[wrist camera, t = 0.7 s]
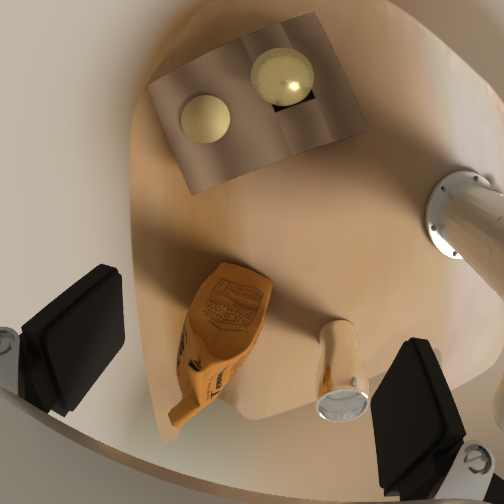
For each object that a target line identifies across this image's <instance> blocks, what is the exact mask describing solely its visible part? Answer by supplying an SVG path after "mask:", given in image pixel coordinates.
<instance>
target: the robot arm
mask: <svg viewBox="0 0 504 504" xmlns="http://www.w3.org/2000/svg"><path fill="white" fill-rule="evenodd" d="M473 177H474V179H473ZM441 187H443V188H442V189H441ZM432 225H433V227H432V228H431V226H432ZM426 227H427V232H428V235H429V237H430V239H431V241H432V243H433V244H434V245H435V247H436V248H437V249H438V250H439V251H440V252H441V253H443V254H444V255H446V256H448V257H451V258H454V259H464V260H465V261H466V262H467V263H468V264H469V265H470V266H471V267H472V268H473V269H474V270H475V271H476V272H477V273H478V274H479V275H480V276H481V277H482V278H483V279H484V280H485V282H486V283H487V284H488V285H489V286H490V287H491V288H492V289H493V290H494V291H495V292H496V293H497V294H498V295H499V296H500V298H501V299H502V300H503V301H504V195H502V194H500V193H498V192H496V191H494V188H493V187H492V185H491V184H490V183H489V181H487V180H486V179H485V178H484V177H483V176H481V175H479V174H478V173H475V172H472V171H466V170H464V171H456V172H453V173H451V174H449V175H447V176H445V177H444V178H443V179H442V180H441V181H440V182H439V183H438V184H437V185H436V187H435V188H434V189H433V191H432V193H431V195H430V197H429V200H428V203H427V208H426ZM453 251H454V252H453ZM21 328H22V333H21V334H20V335H18V333H17V332H16V331H15V330H13V329H11V328H8V327H0V504H504V480H503V479H501V478H500V477H499V476H497V475H496V474H494V473H493V472H494V469H495V458H494V455H493V453H492V451H491V450H490V449H489V447H488V446H487V445H485V444H484V443H482V442H480V441H476V440H470V441H467V442H465V443H464V441H463V437H464V436H465V435H466V432H465V429H464V426H463V423H462V421H461V418H460V415H459V413H458V410H457V407H456V404H455V402H454V399H453V397H452V394H451V392H450V389H449V387H448V384H447V382H446V379H445V377H444V375H443V372H442V370H441V368H440V365H439V363H438V361H437V359H436V356H435V354H434V352H433V350H432V347H431V345H430V343H429V341H428V340H426V339H420V338H414V337H412V338H410V339H409V340H408V341H405V342H404V343H403V344H402V346H401V348H400V350H399V352H398V354H397V356H396V357H395V359H394V361H393V363H392V365H391V366H390V368H389V370H388V372H387V373H386V375H385V377H384V378H383V380H382V382H381V383H380V385H379V387H378V389H377V390H376V392H375V393H374V395H373V397H372V399H371V405H370V406H371V413H372V421H373V428H374V436H375V444H376V454H377V463H378V473H379V484H380V487H381V488H384V496H399V495H400V501H399V502H337V501H321V500H310V499H300V498H292V497H284V496H277V495H271V494H264V493H258V492H253V491H248V490H243V489H238V488H233V487H229V486H225V485H221V484H216V483H213V482H209V481H205V480H202V479H198V478H195V477H191V476H188V475H184V474H181V473H178V472H175V471H172V470H169V469H166V468H163V467H160V466H157V465H155V464H152V463H149V462H147V461H144V460H141V459H139V458H136V457H134V456H131V455H129V454H126V453H124V452H122V451H119V450H117V449H115V448H113V447H110V446H108V445H106V444H104V443H102V442H100V441H97V440H95V439H93V438H91V437H89V436H87V435H85V434H83V433H81V432H79V431H78V430H76V429H74V428H72V427H70V426H68V425H66V424H64V423H62V422H61V421H59V420H57V419H55V418H53V417H52V416H50V415H48V412H49V411H50V410H53V411H54V412H56V413H58V414H60V415H61V416H63V417H65V416H66V414H67V413H68V412H69V411H73V410H75V408H76V407H77V406H78V404H79V403H80V402H81V400H82V399H83V398H84V396H85V395H86V394H87V392H88V391H89V390H90V388H91V387H92V385H93V384H94V383H95V382H96V380H97V379H98V377H99V376H100V375H101V374H102V372H103V371H104V370H105V368H106V367H107V366H108V364H109V363H110V362H111V361H112V359H113V358H114V357H115V355H116V354H117V353H118V351H119V350H120V349H121V348H122V346H123V344H124V341H125V330H124V315H123V297H122V276H121V274H119V273H118V270H117V269H116V268H114V267H111V266H108V265H104V264H100V265H98V266H97V267H95V268H94V269H93V270H91V271H90V272H89V273H88V274H86V275H85V276H84V277H82V278H81V279H80V280H78V281H77V282H76V283H74V284H73V285H72V286H71V287H69V288H68V289H67V290H66V291H64V292H63V293H62V294H61V295H59V296H58V297H57V298H56V299H54V300H53V301H52V302H51V303H49V304H48V305H47V306H46V307H44V308H43V309H42V310H41V311H40V312H38V313H37V314H36V315H35V316H34V317H32V319H30V320H29V321H28V322H27V323H25V324H24V325H23V326H22V327H21ZM492 412H493V416H494V419H495V421H496V423H497V425H498V427H499V428H500V430H501V431H502V432H503V434H504V373H503V375H502V377H501V379H500V380H499V382H498V385H497V387H496V389H495V391H494V394H493V399H492Z"/></svg>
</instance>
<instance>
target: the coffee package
mask: <svg viewBox="0 0 504 504" xmlns="http://www.w3.org/2000/svg"><path fill="white" fill-rule="evenodd" d="M271 292H272V282H271V280H270V279H268V278H266V277H264V276H262V275H260V274H258V273H256V272H254V271H252V270H250V269H247V268H243V267H241V266H239V265H235V264H230V263H226V262H222V263H220V264H219V266H218V267H217V269H216V270H215V271H214V272H213V273H212V274H211V275H210V276H209V277H208V278H207V279H206V280H205V281H204V282H203V283H202V285H201V286H200V288H199V290H198V291H197V293H196V295H195V297H194V299H193V301H192V303H191V305H190V307H189V309H188V312H187V315H186V318H185V321H184V325H183V329H182V332H181V336H180V344H179V348H178V354H177V367H176V371H177V377H178V382H179V386H180V388H181V391H182V393H183V395H182V400H181V401H180V402H179V403H178V404H177V405H176V406H175V407H174V408H172V409H171V410H170V412H169V413H168V416H169V419H170V421H171V424H172V426H174V427H177V428H179V427H181V426H182V425H183V424H184V423H185V422H186V421H187V420H188V419H190V418H191V417H193V416H194V415H195V414H197V413H198V412H199V411H200V410H201V409H203V408H204V407H205V406H206V405H208V404H209V403H211V402H212V401H213V400H214V399H215V398H216V397H217V396H218V394H219V393H220V392H221V390H222V388H223V387H224V386H225V384H226V383H227V382H228V381H229V380H230V379H231V377H232V376H233V375H234V374H235V373H236V371H237V370H238V369H239V368H240V367H241V365H242V364H243V363H244V361H245V360H246V359H247V357H248V355H249V354H250V352H251V350H252V349H253V347H254V345H255V344H256V342H257V339H258V337H259V335H260V332H261V329H262V326H263V323H264V319H265V316H266V312H267V308H268V305H269V301H270V297H271Z"/></svg>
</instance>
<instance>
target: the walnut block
mask: <svg viewBox="0 0 504 504" xmlns="http://www.w3.org/2000/svg"><path fill="white" fill-rule="evenodd" d="M274 48H290V49H293V50H296V51H298V52H300V53H301V54H302V55H304V56H305V57H306V58H307V59H308V61H309V62H310V64H311V66H312V68H313V72H314V82H313V86H312V89H311V91H310V93H309V94H308V95H307V96H306V97H305V98H304V99H303V100H302V101H300V102H298V103H296V104H293V105H289V106H278V105H274V104H271V103H269V102H267V101H265V100H264V99H262V98H261V97H260V96H259V95H258V94H257V93H256V91H255V90H254V88H253V85H252V82H251V70H252V67H253V64H254V63H255V61H256V60H257V58H258V57H259V56H260V55H262V54H263V53H264V52H266V51H268V50H271V49H274ZM146 88H147V90H148V93H149V95H150V98H151V100H152V103H153V105H154V107H155V110H156V112H157V115H158V117H159V120H160V122H161V125H162V127H163V129H164V132H165V134H166V137H167V139H168V141H169V144H170V146H171V149H172V151H173V153H174V156H175V158H176V160H177V163H178V165H179V167H180V170H181V172H182V174H183V177H184V179H185V181H186V184H187V186H188V188H189V191H190V193H191V195H195V194H197V193H199V192H202V191H204V190H206V189H209V188H211V187H214V186H216V185H218V184H221V183H223V182H226V181H228V180H231V179H233V178H236V177H238V176H241V175H243V174H246V173H248V172H251V171H254V170H256V169H259V168H261V167H264V166H267V165H269V164H272V163H275V162H277V161H280V160H283V159H286V158H288V157H291V156H294V155H297V154H300V153H302V152H305V151H308V150H311V149H314V148H317V147H320V146H323V145H326V144H329V143H332V142H335V141H338V140H341V139H344V138H347V137H350V136H354V135H357V134H360V133H363V132H366V131H368V130H367V128H366V125H365V122H364V120H363V117H362V114H361V112H360V109H359V107H358V104H357V102H356V99H355V97H354V94H353V92H352V90H351V87H350V85H349V82H348V80H347V78H346V76H345V73H344V71H343V69H342V67H341V65H340V62H339V60H338V58H337V56H336V54H335V52H334V50H333V48H332V46H331V44H330V42H329V40H328V38H327V36H326V34H325V32H324V30H323V28H322V26H321V24H320V22H319V20H318V18H317V17H316V15H315V13H314V12H313V13H309V14H306V15H303V16H299V17H296V18H293V19H290V20H287V21H284V22H281V23H278V24H275V25H273V26H270V27H267V28H264V29H262V30H259V31H257V32H254V33H252V34H249V35H247V36H244V37H242V38H239V39H237V40H235V41H232V42H230V43H228V44H226V45H223V46H221V47H219V48H217V49H215V50H212V51H210V52H208V53H206V54H204V55H202V56H200V57H198V58H196V59H194V60H192V61H190V62H188V63H186V64H184V65H183V66H181V67H179V68H177V69H175V70H173V71H171V72H170V73H168V74H166V75H164V76H163V77H161V78H159V79H157V80H156V81H154V82H152V83H151V84H149V85H147V86H146Z"/></svg>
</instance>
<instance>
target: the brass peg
mask: <svg viewBox="0 0 504 504" xmlns="http://www.w3.org/2000/svg"><path fill="white" fill-rule="evenodd" d="M251 82H252V85H253V88H254V90H255V91H256V93H257V94H258V95H259V96H260V97H261V98H262V99H264V100H265V101H267V102H269V103H271V104H274V105H278V106H289V105H293V104H296V103H298V102H300V101H302V100H303V99H304V98H305V97H306V96H307V95H308V94H309V93H310V91H311V89H312V86H313V82H314V72H313V68H312V66H311V64H310V62H309V61H308V59H307V58H306V57H305V56H304V55H302V54H301V53H300V52H298V51H296V50H293V49H290V48H274V49H271V50H268V51H266V52H264V53H263V54H262V55H260V56H259V57H258V58H257V60H256V61H255V63H254V64H253V67H252V70H251Z"/></svg>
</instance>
